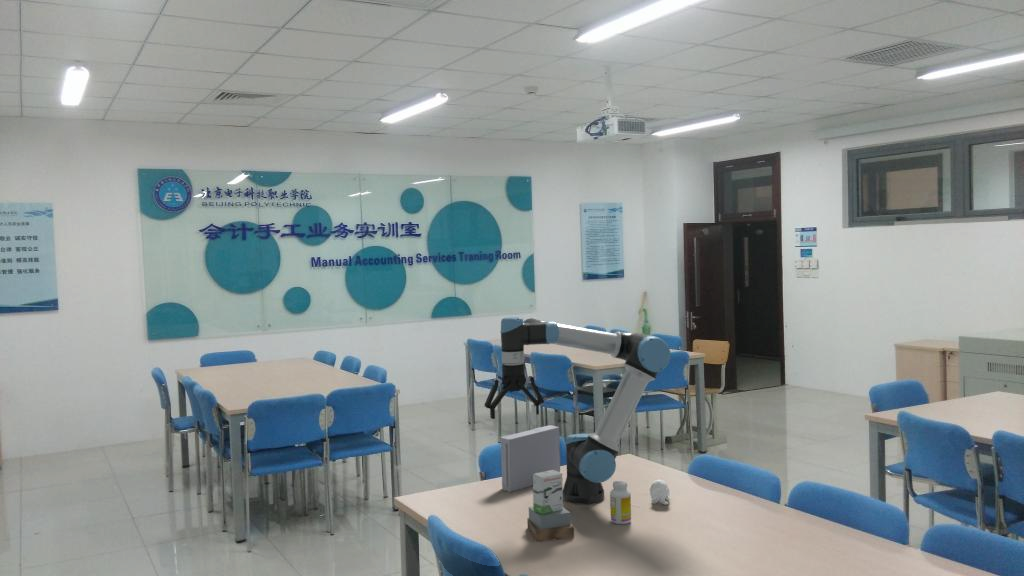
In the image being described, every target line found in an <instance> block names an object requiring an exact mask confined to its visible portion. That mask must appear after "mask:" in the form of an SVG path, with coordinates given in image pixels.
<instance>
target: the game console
mask: <svg viewBox="0 0 1024 576" xmlns="http://www.w3.org/2000/svg"><path fill="white" fill-rule="evenodd" d="M560 441H561V439H560V426H556V425H551V424H550V425H545V426H539V427H536V428H533V429H529V430H525V431H521V432H517V433H513V434H509V435H504V436H503V435H502V436H500V452H501V453H500V455H501V456H500V457H501V459H500V460H501V488H502V489H501V490H503V491H506V492H509V493H511V492H514V491H515V492H516V491H518V490H521V489H525V488H527V487H530V486H531V487H532V486H533V474H535V473H540V472H545V471H550V470H555V471H557V472H559V473H561V450H560V448H561V446H560V445H561V443H560Z"/></svg>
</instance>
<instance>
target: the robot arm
mask: <svg viewBox="0 0 1024 576" xmlns="http://www.w3.org/2000/svg"><path fill="white" fill-rule="evenodd" d="M500 344H501V345H500V346H501V363H502V365H501V371H502V372H501V373H502V375H501V379H496V378H493V379H492V387H491V389H490V390H489V393H488V395H487V398H486V399H485V400H486V401H485V403H484V406H483V407H485V408H487V409H489V415H490V419H492V420H493V423H492V424H493V429H495V430H498V429H499V425H498V424H499V422H498V421H499V420H498V418H499V417H498V409H497V406H498V405H499V404H500V402H501V401H502V399H503V398H504V397H505V395H507V394H508V392H510V393H513V392H520V391H522V393H524V395H526V397H527V398H528V399H529V401H531V402H532V404H531V424H532V425H533V426H537V422H538V420H537V415H539V414H540V404H544V403H545V400H544V398H543V396H542V394H541V392H540V391H539V389H538V387H537V385H536V382H535V378H534V376H532V375H529V376H528V377H527V376H526V375H525V373H526V372H525V370H526V369H525V364H524V363H525V346H530V345H532V346H534V345H557V346H562V347H563V346H564V347H568V348H575V349H579V350H585V351H590V352H591V351H592V352H596V353H600V354H601V353H603V354H606V355H607V354H608V355H610V356H611V357H612V358H615V359H619V360H623V361H625V363H624V368H625V371H624V374H623V376H622V377H621V379H620V382H619V384H618V386H617V387H616V390H615V392H614V394H613V396H612V398H611V400H610V402H609V404H608V406H607V408H606V410H605V412H604V414H603V416H602V418H601V419H600V422H599V423H598V426H597V427H596V430H595V431H594V432H592V433H574V434H569V435H567V436H566V439H565V448H566V449H565V453H566V478H565V481H564V485H563V487H562V488H563V500H564V501H566V502H568V503H572V504H577V505H585V504H587V505H588V504H589V505H591V504H596V503H599V502H602V501H603V500H605V490H604V489H605V488H604V487H603V484H602V483H603V482H606V481H608V480H610V479H611V478H612V476H614V474H615V471H616V467H617V464H616V458H617V456H618V455H619V453H620V449H619V446H618V444H619V442H620V441H621V438H622V435H623V434H624V432H625V429H626V428H627V426H628V424H629V422H630V420H631V418H632V416H633V414H634V412H635V410H636V408H637V406H638V404H639V402H640V400H641V398H642V396H643V394H644V392H645V390H646V388H647V385H648V384H649V383H650V382H651V381H652V382H653V381H654V380H656V378H657V376H658V374H659V372H661V371H663V370H664V369H665V368H667V366H668V365H669V363H670V361H671V350H670V346H669V345H668V344H667V342H666V341H665V340H663V338H660V337H658V336H656V335H650V334H646V333H643V332H626V331H619V330H618V331H615V332H613V333H612V332H608V331H601V330H597V329H591V328H585V327H579V326H574V325H568V324H564V323H557V322H556V321H550V320H547V321H546V320H539V319H536V318H527V319H526V318H525V320H524V319H523V317H522V316H521V317H520V316H509V317H503V318H502V319H501V321H500ZM526 383H528V384H529V386H530V387H531V390H532V391H533V393H534V395H535V396H533V394H532V393H531V392H530V391H529V390H528V389H527V387H526V386H525V384H526ZM501 384H502V386H503V387H501V389H500V391H499V393H498V394H497V395H496V393H497V390H498V388H499V386H500V385H501ZM495 395H496V396H495ZM535 397H536V398H535Z"/></svg>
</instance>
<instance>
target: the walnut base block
mask: <svg viewBox="0 0 1024 576" xmlns="http://www.w3.org/2000/svg"><path fill="white" fill-rule="evenodd" d="M526 520H527V523H526V524H527V530H528V529H529V530H528V531H529V533H530V532H531V533H530V534H531V535H533V536H532V537H533V538H535V539H534V541H536V542H538V541H539V542H545V541H544V540H548V541H554V540H553V539H557V540H563V539H562V538H567V539H574V538H575V527H574V526H573V524H572V523H571V522H570V525H567V526H561V527H555V528H548V529H542V530H541V529H539V528H538V527H537V526H536V525H535V524H534V523H532V522H531V521H530V520H529V517H527V519H526ZM573 537H574V538H573Z"/></svg>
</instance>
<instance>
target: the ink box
mask: <svg viewBox="0 0 1024 576" xmlns="http://www.w3.org/2000/svg"><path fill="white" fill-rule="evenodd" d="M563 488H564V487H563V473H561V472H557V471H555V470H550V471H545V472H540V473H535V474H533V485H532V489H533V490H532V492H533V494H532V495H533V497H532V499H533V501H532V503H533V504H532V505H533V506H532V507H533V511H535V512H537V513H540V514H547V513H551V512H555V511H559V510H563V508H564V505H563V504H564V501H563V500H564V499H563Z"/></svg>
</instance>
